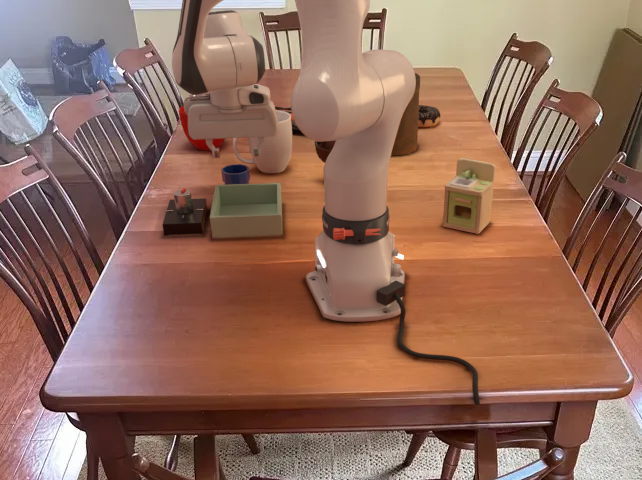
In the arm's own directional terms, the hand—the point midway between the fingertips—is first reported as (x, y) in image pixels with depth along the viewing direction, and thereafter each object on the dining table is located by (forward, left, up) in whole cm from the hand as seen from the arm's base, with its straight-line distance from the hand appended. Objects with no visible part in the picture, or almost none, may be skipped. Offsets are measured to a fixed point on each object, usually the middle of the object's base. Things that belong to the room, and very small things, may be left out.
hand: (237, 156), depth 162 cm
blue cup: (0, +1, -9) cm, 9 cm away
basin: (-17, -2, -9) cm, 19 cm away
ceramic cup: (+31, +10, -9) cm, 34 cm away
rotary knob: (-17, +11, -5) cm, 21 cm away
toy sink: (-23, -49, -9) cm, 55 cm away
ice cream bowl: (+4, -23, -9) cm, 25 cm away
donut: (+48, -51, -9) cm, 71 cm away
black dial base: (-17, +11, -9) cm, 22 cm away
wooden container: (+28, -39, -9) cm, 49 cm away
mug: (+14, -6, -9) cm, 18 cm away
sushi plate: (+56, -14, -9) cm, 59 cm away
